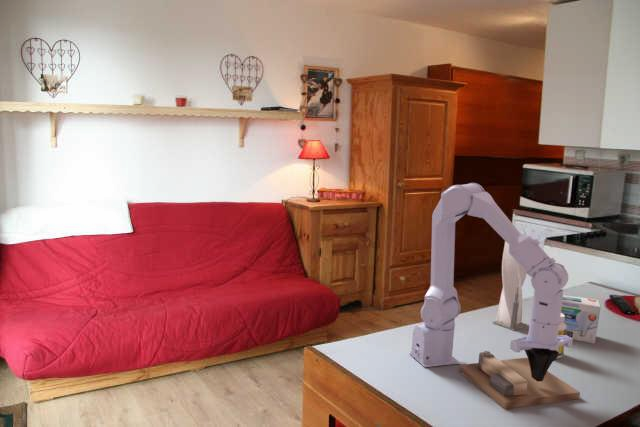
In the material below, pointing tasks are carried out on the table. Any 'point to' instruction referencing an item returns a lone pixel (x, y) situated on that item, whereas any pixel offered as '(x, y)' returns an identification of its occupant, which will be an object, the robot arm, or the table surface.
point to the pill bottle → (561, 332)
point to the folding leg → (502, 372)
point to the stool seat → (503, 389)
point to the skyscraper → (511, 293)
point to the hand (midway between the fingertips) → (537, 379)
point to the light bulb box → (581, 317)
